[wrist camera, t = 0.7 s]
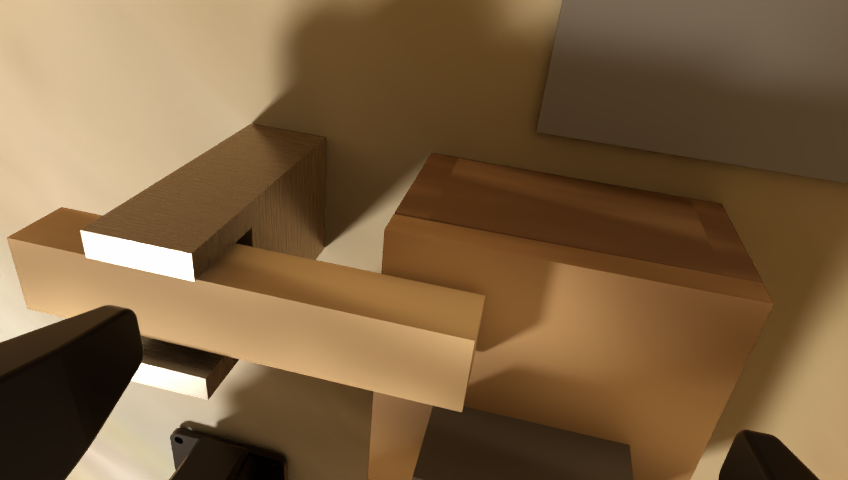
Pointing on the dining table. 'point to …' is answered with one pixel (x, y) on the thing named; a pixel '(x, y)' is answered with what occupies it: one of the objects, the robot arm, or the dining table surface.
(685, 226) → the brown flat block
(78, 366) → the robot arm
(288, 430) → the dining table surface
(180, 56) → the dining table surface
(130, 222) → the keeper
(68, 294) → the tan wooden bar
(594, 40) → the mat
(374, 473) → the lid
